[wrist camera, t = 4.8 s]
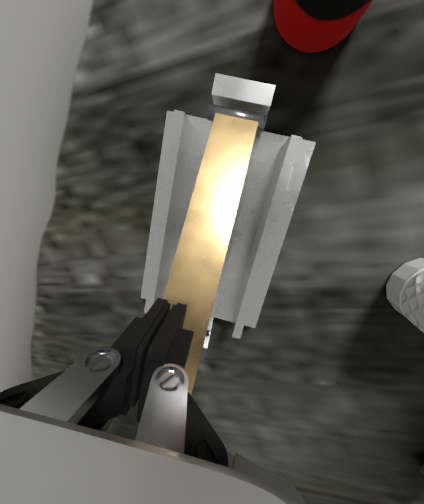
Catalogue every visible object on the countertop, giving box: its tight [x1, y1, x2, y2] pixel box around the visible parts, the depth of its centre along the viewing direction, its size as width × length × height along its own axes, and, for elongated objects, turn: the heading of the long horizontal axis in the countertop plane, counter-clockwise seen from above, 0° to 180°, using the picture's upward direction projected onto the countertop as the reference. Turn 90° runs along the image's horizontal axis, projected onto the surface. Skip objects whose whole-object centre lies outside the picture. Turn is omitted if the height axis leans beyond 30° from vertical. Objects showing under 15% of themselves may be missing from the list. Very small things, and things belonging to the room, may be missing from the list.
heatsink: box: [141, 73, 316, 363], centre depth 20 cm, size 14×22×8 cm, turn 167°
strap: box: [163, 104, 268, 395], centre depth 13 cm, size 4×18×1 cm, turn 167°
